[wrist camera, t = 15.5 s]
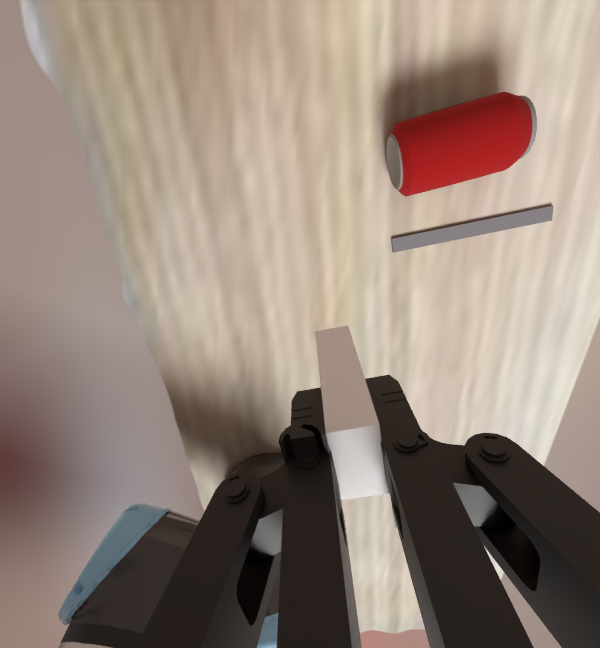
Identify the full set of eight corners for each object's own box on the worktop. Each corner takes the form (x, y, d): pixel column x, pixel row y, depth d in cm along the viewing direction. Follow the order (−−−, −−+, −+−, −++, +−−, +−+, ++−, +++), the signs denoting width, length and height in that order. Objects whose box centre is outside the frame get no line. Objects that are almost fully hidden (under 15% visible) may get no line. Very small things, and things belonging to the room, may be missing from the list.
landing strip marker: (392, 251, 40) (393, 252, 40) (391, 238, 40) (392, 238, 39) (550, 220, 39) (551, 220, 38) (551, 205, 38) (553, 205, 38)
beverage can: (385, 181, 38) (494, 151, 37) (404, 210, 33) (530, 177, 32) (381, 115, 33) (507, 78, 32) (403, 138, 28) (551, 96, 27)
